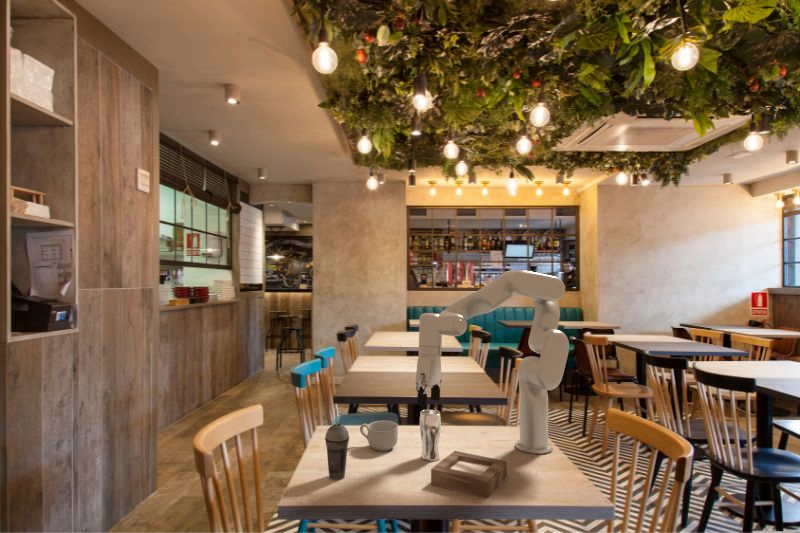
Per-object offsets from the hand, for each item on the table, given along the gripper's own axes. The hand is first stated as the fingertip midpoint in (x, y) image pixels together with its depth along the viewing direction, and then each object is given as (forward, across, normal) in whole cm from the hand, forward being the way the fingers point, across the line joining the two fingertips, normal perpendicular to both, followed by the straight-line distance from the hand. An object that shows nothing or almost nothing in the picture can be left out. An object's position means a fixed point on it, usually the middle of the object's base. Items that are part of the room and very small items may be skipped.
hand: (428, 402), depth 164 cm
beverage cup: (+19, +27, -16) cm, 37 cm away
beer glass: (+18, -1, +1) cm, 18 cm away
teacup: (+19, -1, -19) cm, 27 cm away
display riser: (+18, +9, +19) cm, 28 cm away
